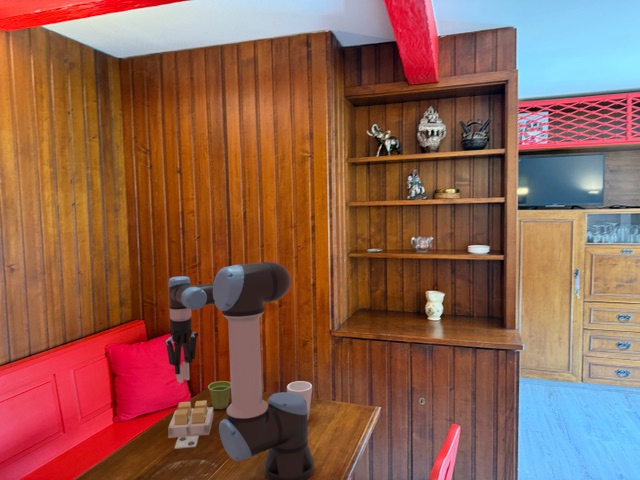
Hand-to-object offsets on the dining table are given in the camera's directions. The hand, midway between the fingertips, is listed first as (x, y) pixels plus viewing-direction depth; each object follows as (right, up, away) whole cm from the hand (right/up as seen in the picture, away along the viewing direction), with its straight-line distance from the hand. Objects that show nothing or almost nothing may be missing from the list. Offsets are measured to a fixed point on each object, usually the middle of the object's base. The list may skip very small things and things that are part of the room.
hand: (183, 380), depth 162 cm
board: (+4, -17, -1) cm, 17 cm away
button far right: (+6, -13, +2) cm, 14 cm away
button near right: (+7, -13, -4) cm, 16 cm away
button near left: (+1, -14, -5) cm, 14 cm away
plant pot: (+11, -15, +15) cm, 24 cm away
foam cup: (+43, -16, +3) cm, 46 cm away
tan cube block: (0, -13, +1) cm, 13 cm away
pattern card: (+5, -17, -12) cm, 22 cm away
